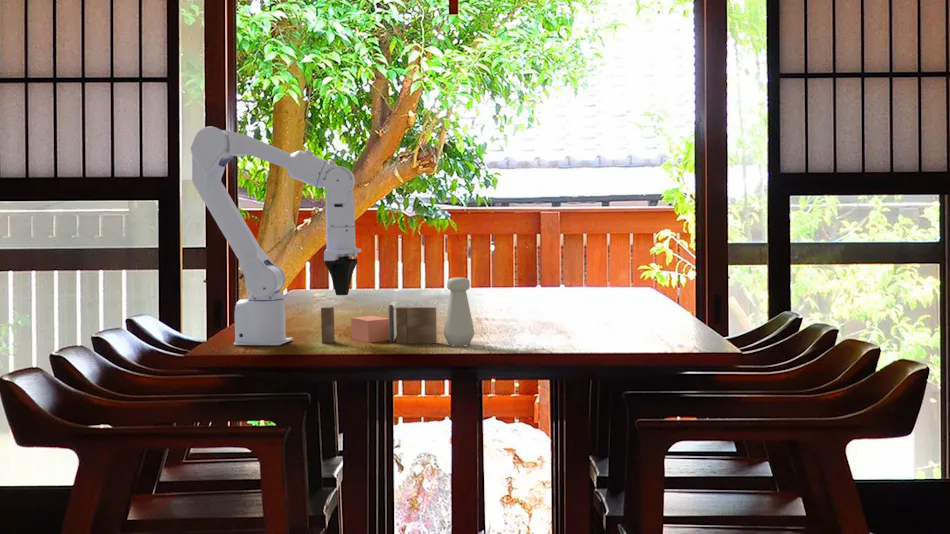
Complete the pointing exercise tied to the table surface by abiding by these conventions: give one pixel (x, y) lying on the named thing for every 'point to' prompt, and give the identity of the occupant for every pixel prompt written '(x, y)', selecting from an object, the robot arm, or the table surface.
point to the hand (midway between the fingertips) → (342, 295)
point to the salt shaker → (458, 314)
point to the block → (370, 329)
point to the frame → (409, 325)
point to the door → (394, 318)
